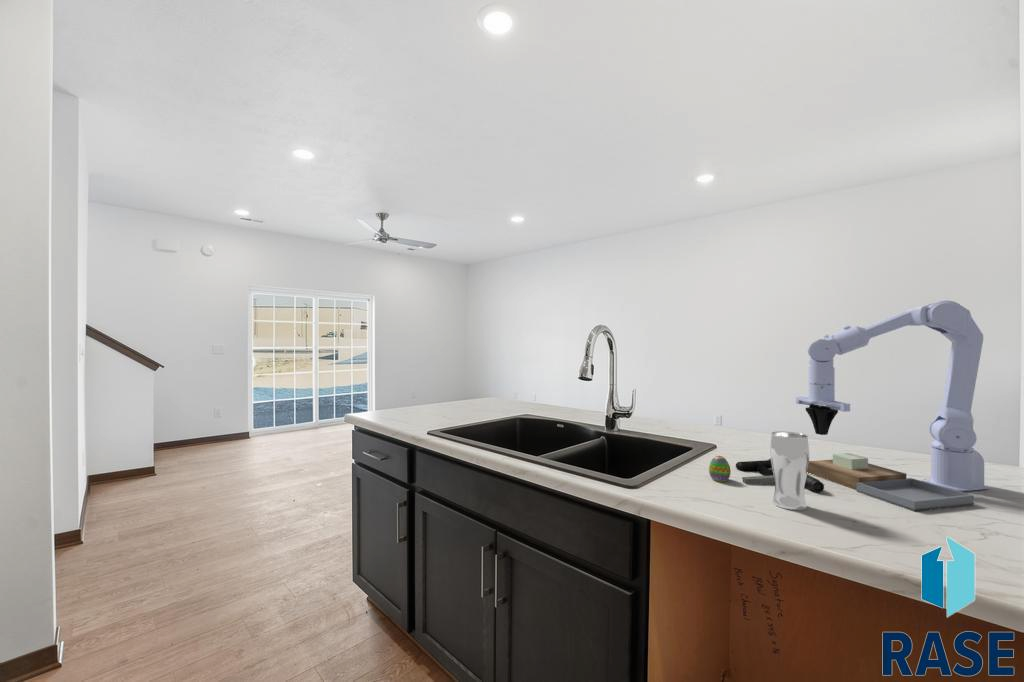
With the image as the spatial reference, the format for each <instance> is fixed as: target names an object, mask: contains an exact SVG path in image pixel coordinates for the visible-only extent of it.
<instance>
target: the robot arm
mask: <svg viewBox="0 0 1024 682" xmlns="http://www.w3.org/2000/svg"><path fill="white" fill-rule="evenodd" d="M907 326H911V327H912V326H918V327H919V326H925V327H926V328H929V329H931V330H934V331H936V332H939V333H940V334H941V335H943V336H944V337H945V338H946V339H948V340H949V341H950V342H951V345H950V346H951V347H950V353H949V358H948V365H947V371H946V376H945V381H944V387H943V388H944V389H943V394H942V400H941V406H940V407H939V408H938V410H937V412H936V416H935V418H934V419H933V421H932V422H931V423H930V425H929V426H928V427H929V428H928V430H929V434H930V435H931V437H932V438H933V439H934V440H933V441H932V442H931V443H930V478H921V479H920V481H924V482H927V483H931V484H934V485H938V486H941V487H945V488H949V489H952V490H956V491H959V492H970V491H971V492H972V491H979V490H981V491H982V490H989V489H990V486H987V485H985V460H984V457H983V456H982V454H981V453H980V452H979V451H978V450H975V449H974V446H975V445H976V443H977V440H978V439H977V434H976V432H975V430H974V422H975V421H974V417H973V414H972V405H973V402H974V401H973V400H974V395H975V389H976V383H977V378H978V372H979V367H980V360H981V354H982V349H983V343H984V334H983V333H982V331H981V329H980V328H979V326H978V324H977V323H976V321H975V320H974V318H973V317H972V315H971V310H969V309H968V308H966V307H964V306H963V305H961V304H960V303H959V302H956V301H952V300H941V301H937V302H934V303H929V304H927V305H923V306H919V307H915V308H911V309H907V310H906V309H905V310H904V311H901V312H899V313H897V314H894V315H892V316H889V317H886V318H884V319H882V320H879V321H877V322H875V323H872V324H870V325H868V326H864V327H863V326H859V325H853V326H850V325H847V326H844V327H843V330H840V331H837V332H835V333H833V334H831V335H829V334H826V335H823V337H824V339H823V338H821V339H817V340H815V341H813V342H811V344H809V347H808V350H807V354H808V356H809V360H808V361H809V362H808V363H809V366H808V397H807V396H806V397H805V396H796V397H795V403H796V404H797V405H806V406H808V407H805V411H806V413H807V414H808V416H809V418H810V420H811V423H812V425H813V428H814V432H815V434H816V435H821V436H827V435H829V431H830V427H831V424H832V422H833V420H834V419H835V418H836V416H837V414H838V413H839V412H845V413H846V412H851V404H850V403H846V402H841V401H837V400H835V399H836V398H835V397H836V395H835V391H836V390H835V376H836V375H835V371H836V370H835V367H834V358H835V356H836V355H838V356H842V355H844V354H847V353H850V352H853V351H856V350H858V349H860V348H864V347H866V346H868V344H869V343H870V340H871V339H872V338H876V337H878V336H881V335H883V334H887V333H890V332H892V331H896V330H898V329H900V328H903V327H907Z"/></svg>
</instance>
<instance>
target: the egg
mask: <svg viewBox="0 0 1024 682" xmlns="http://www.w3.org/2000/svg"><path fill="white" fill-rule="evenodd" d="M708 465H709V466H708V473H709V476H710V478H711V479H712V480H713V481H716V482H721V483H725V482H727V481H728V480H730V477H731V466H730V464H729V462H728V460H727V459H726V458H725V457H724V456H721V455H716V456H714V457H713V458H712V459H711V461H710V462H709V464H708Z"/></svg>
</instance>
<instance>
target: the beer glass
mask: <svg viewBox="0 0 1024 682" xmlns="http://www.w3.org/2000/svg"><path fill="white" fill-rule="evenodd" d="M809 446H810V445H809V436H808V434H807V435H806V434H804V433H800V432H795V431H783V430H781V431H776V430H775V431H772V432H771V439H770V448H769V449H770V450H769V452H770V459H771V465H772V471H773V475H774V481H775V484H774V493H773V496H772V497H773V499H772V503H773V505H775V506H776V507H779V508H781V509H784V510H788V509H789V511H797V512H798V511H800V512H801V511H805V510H806V509H807V508H808V506H807V501H806V495H805V489H806V488H805V482H806V477H807V475H808V473H807V472H808V467H809V461H810V447H809Z"/></svg>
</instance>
